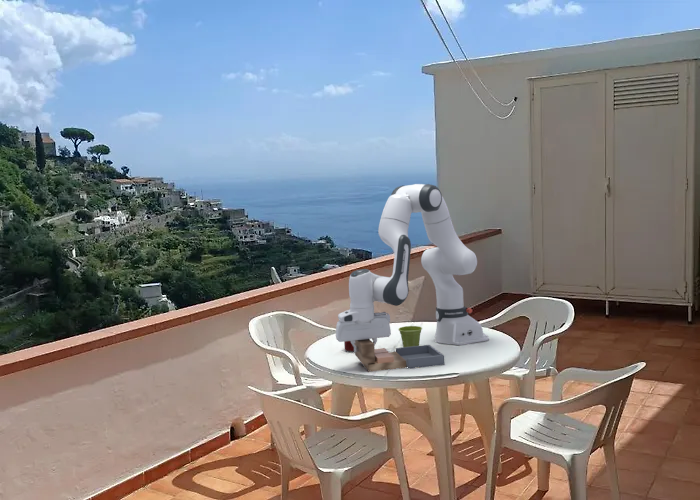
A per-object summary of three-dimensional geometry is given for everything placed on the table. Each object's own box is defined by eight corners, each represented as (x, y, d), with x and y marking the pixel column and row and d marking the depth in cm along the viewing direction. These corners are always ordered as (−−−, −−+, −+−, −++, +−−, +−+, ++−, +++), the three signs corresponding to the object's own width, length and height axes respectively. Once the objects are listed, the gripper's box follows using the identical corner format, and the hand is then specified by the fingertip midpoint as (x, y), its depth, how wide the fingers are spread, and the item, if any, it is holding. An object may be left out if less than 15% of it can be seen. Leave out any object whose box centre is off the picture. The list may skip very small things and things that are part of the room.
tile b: (389, 357, 241) (389, 352, 241) (393, 361, 235) (393, 356, 235) (373, 359, 240) (373, 354, 240) (377, 363, 234) (377, 358, 234)
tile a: (384, 353, 248) (384, 348, 248) (388, 357, 242) (388, 351, 242) (369, 354, 247) (369, 349, 247) (373, 358, 241) (372, 353, 241)
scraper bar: (366, 353, 247) (365, 335, 247) (375, 362, 234) (374, 343, 233) (354, 354, 246) (353, 336, 246) (362, 364, 233) (361, 345, 232)
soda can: (360, 352, 260) (359, 323, 259) (343, 352, 262) (341, 323, 261) (363, 348, 268) (362, 319, 266) (346, 348, 269) (345, 319, 268)
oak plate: (396, 358, 250) (395, 351, 249) (406, 367, 236) (406, 360, 236) (360, 361, 247) (360, 355, 247) (368, 371, 233) (368, 364, 233)
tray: (429, 353, 254) (429, 344, 253) (444, 364, 237) (444, 355, 237) (395, 356, 251) (395, 348, 251) (408, 368, 235) (408, 359, 234)
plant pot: (407, 353, 255) (406, 332, 254) (395, 349, 263) (394, 328, 262) (427, 350, 259) (426, 328, 258) (414, 345, 267) (413, 324, 267)
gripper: (387, 309, 243) (389, 345, 245) (333, 314, 240) (336, 351, 241) (391, 313, 237) (393, 350, 239) (336, 318, 233) (339, 355, 235)
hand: (364, 350), depth 240 cm, fingers closed on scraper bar, 4 cm apart
